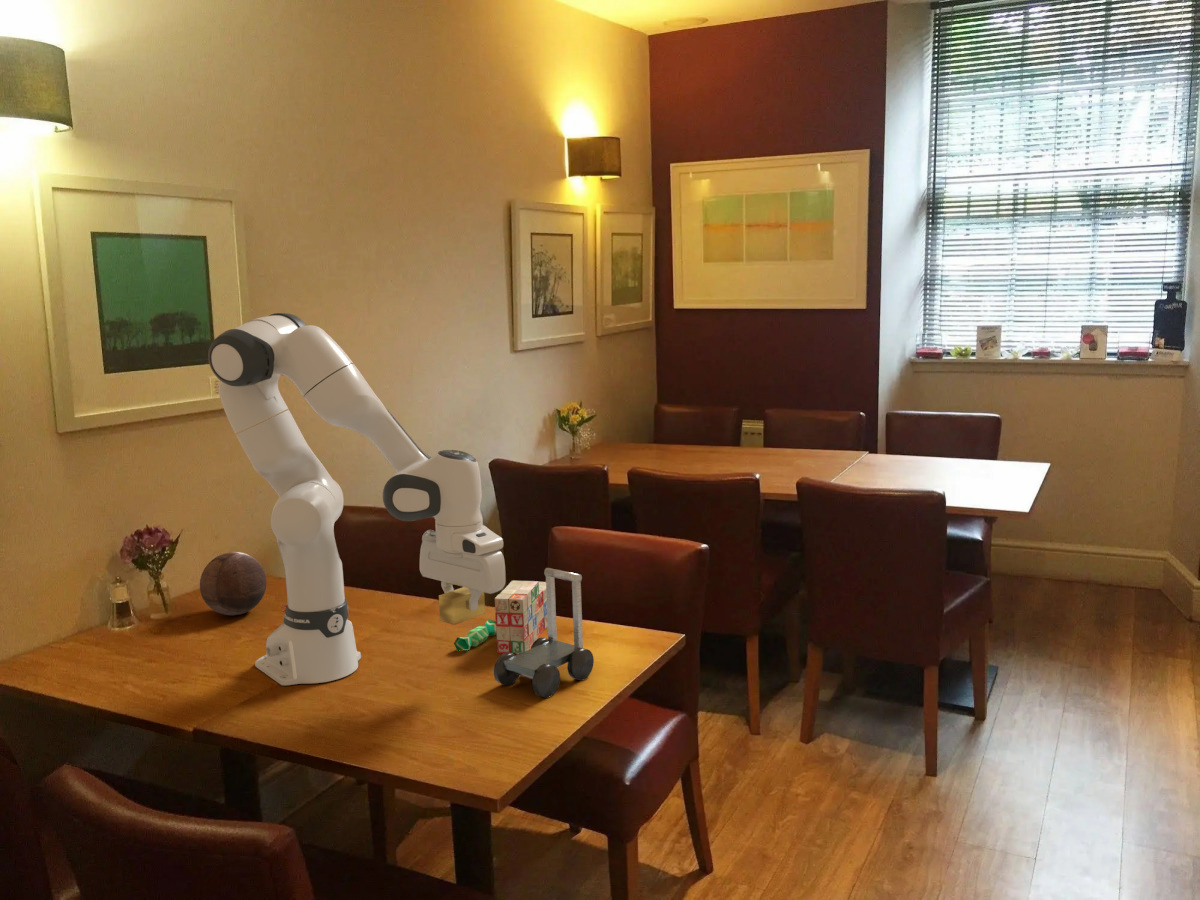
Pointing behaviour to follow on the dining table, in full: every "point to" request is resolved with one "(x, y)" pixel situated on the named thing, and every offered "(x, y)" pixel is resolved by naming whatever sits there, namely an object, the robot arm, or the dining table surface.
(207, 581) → the wooden sphere
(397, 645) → the dining table surface
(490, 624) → the candy
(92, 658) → the dining table surface
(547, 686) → the trolley
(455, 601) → the block
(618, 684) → the dining table surface
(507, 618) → the stack of blocks
